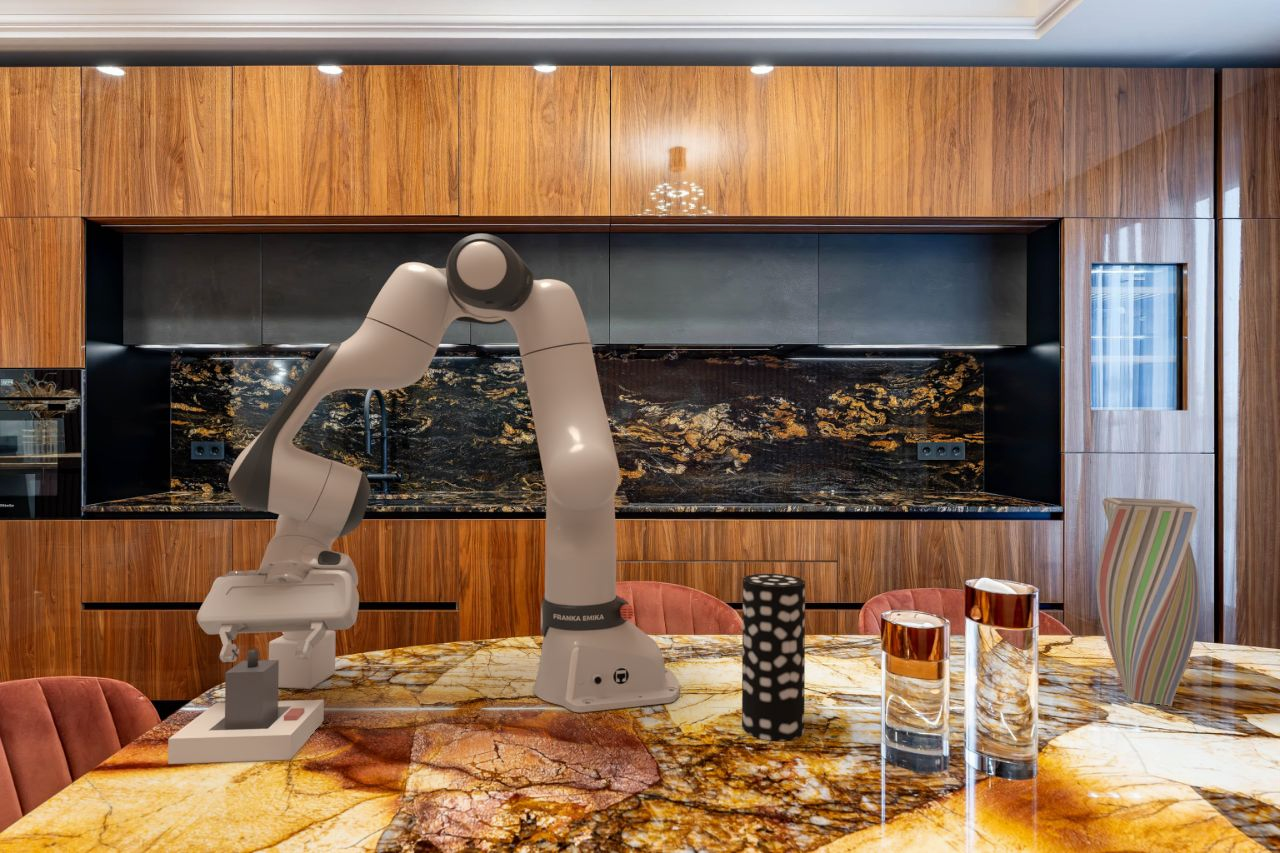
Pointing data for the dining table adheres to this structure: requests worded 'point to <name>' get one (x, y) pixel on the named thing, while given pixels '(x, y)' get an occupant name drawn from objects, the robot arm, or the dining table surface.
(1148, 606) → the vase
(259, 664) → the plug
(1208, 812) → the dining table surface
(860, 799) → the dining table surface
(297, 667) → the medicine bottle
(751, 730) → the white-spotted black cylinder
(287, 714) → the socket
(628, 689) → the robot arm
